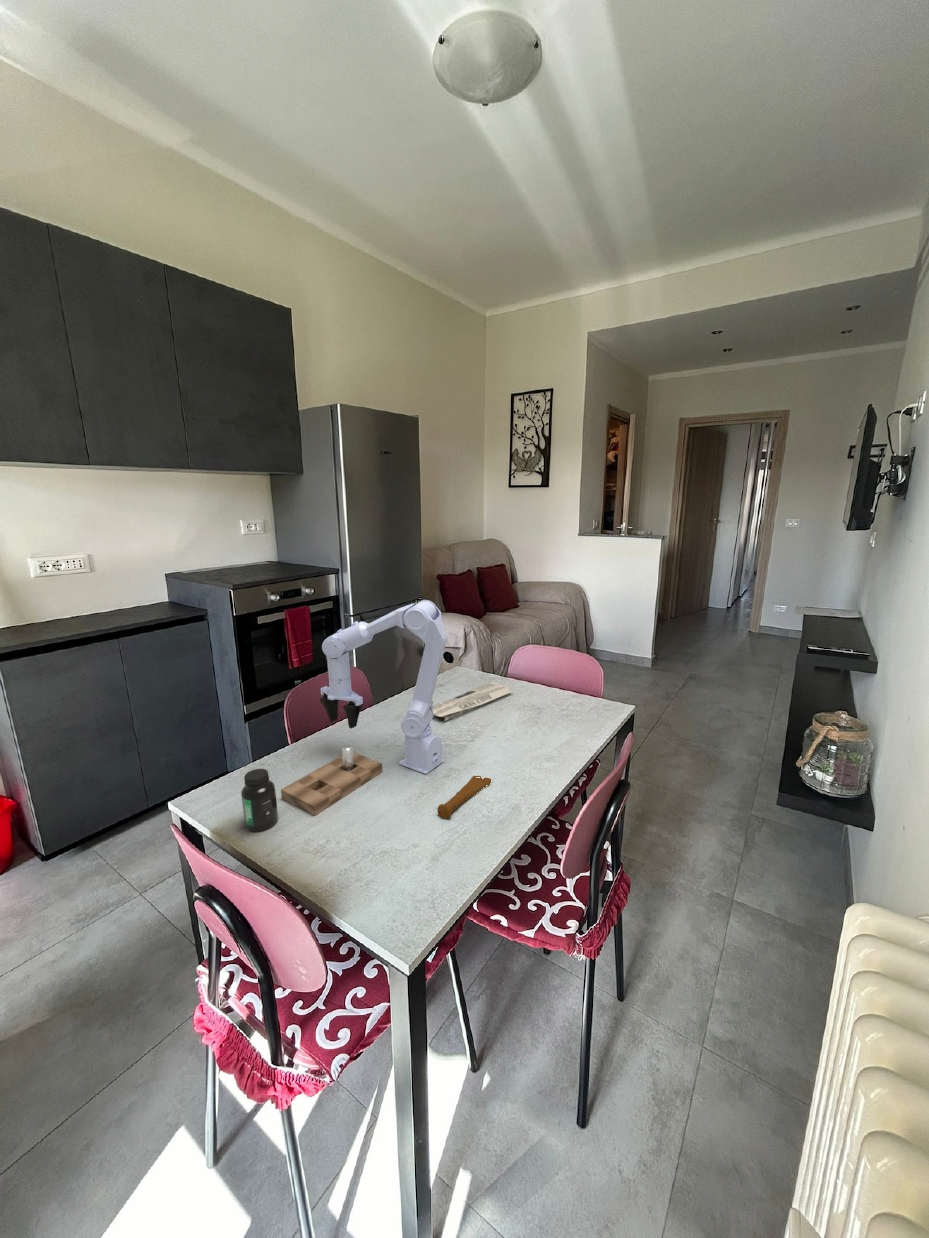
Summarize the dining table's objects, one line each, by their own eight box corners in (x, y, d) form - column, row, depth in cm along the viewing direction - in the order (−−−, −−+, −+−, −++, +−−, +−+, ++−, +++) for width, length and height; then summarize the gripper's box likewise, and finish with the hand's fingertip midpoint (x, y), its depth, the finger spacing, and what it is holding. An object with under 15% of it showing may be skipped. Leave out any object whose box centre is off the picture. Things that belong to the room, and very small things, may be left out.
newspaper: (489, 686, 188) (489, 677, 187) (515, 694, 179) (515, 685, 179) (420, 716, 163) (419, 706, 162) (446, 727, 154) (446, 717, 154)
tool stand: (382, 771, 129) (382, 763, 128) (315, 815, 111) (314, 806, 111) (350, 758, 136) (349, 750, 135) (281, 798, 118) (280, 789, 117)
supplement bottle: (249, 836, 105) (243, 786, 102) (242, 820, 110) (235, 772, 107) (282, 824, 109) (276, 775, 106) (273, 809, 114) (268, 762, 111)
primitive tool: (475, 776, 127) (475, 764, 126) (494, 781, 125) (494, 769, 124) (435, 818, 111) (435, 804, 110) (456, 825, 108) (456, 811, 107)
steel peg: (356, 774, 128) (354, 746, 126) (349, 779, 126) (346, 751, 124) (349, 771, 129) (347, 744, 127) (342, 776, 127) (339, 748, 125)
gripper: (310, 676, 133) (314, 722, 137) (347, 687, 125) (350, 735, 129) (330, 669, 139) (334, 713, 142) (367, 678, 131) (370, 725, 134)
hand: (343, 723), depth 136 cm, fingers open, 7 cm apart
